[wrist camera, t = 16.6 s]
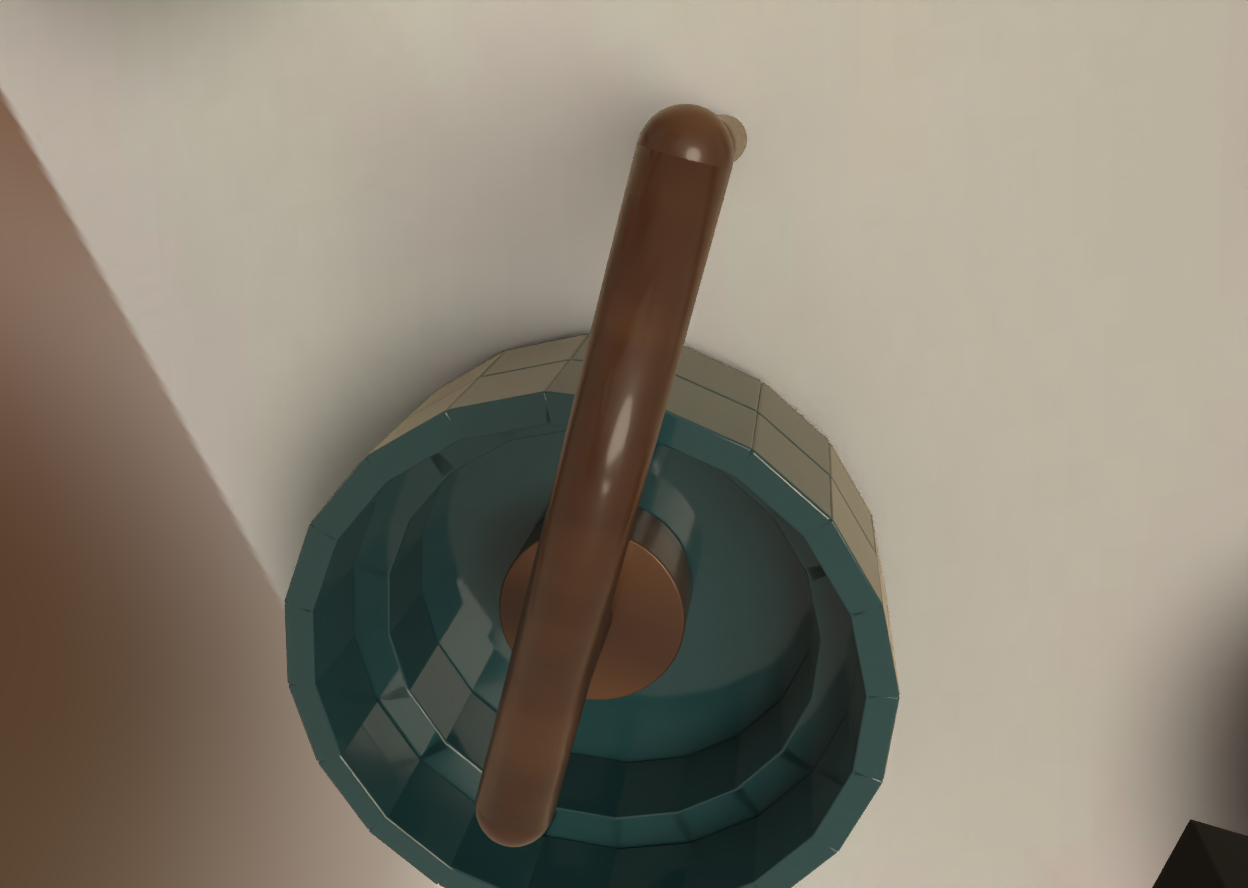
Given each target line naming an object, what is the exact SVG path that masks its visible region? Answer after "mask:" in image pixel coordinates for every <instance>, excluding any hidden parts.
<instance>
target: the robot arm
mask: <svg viewBox="0 0 1248 888" xmlns="http://www.w3.org/2000/svg"><path fill="white" fill-rule="evenodd" d="M1153 888H1248V836H1245V835H1242V834H1239V833H1235V832H1232V831H1228V830H1225V829H1222V828H1218V827H1215V826H1211V825H1208V824H1204V823H1201V822H1198V821H1194V820H1191V819H1190V821H1189V823H1188V824H1187V826H1186V828H1185V830H1184V832H1183V833H1182V835H1181V837H1180V839H1179V841H1178V842H1177V844H1176V846H1175V848H1174V850H1173V851H1172V853H1171V855H1170V857H1169V859H1168V860H1167V862H1166V864H1165V866H1164V868H1163V869H1162V871H1161V873H1160V875H1159V877H1158V879H1157V880H1156V882H1155V884H1154V886H1153Z"/></svg>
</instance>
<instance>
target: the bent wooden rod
mask: <svg viewBox="0 0 1248 888" xmlns="http://www.w3.org/2000/svg"><path fill="white" fill-rule="evenodd" d="M746 144H747V135H746V131H745V128H744V126H743V125H742V123H741V122H740V121H739V120H737V119H736V118H734V117H732V116H729V115H715V114H714V113H712V112H711V111H709V110H708V109H706V108H703V107H701V106H698V105H692V104H678V105H674V106H670V107H667V108H665V109H663V110H661V111H659V112H658V113H657V114H656V115H654V116H653V117H652V118H651V119H650V120H649V121H648V122H647V124H646V125H645V126H644V128H643V130H642V132H641V133H640V136H639V139H638V142H637V144H636V149H635V153H634V157H633V161H632V165H631V169H630V173H629V177H628V181H627V185H626V189H625V193H624V197H623V201H622V205H621V210H620V214H619V218H618V222H617V226H616V230H615V234H614V238H613V242H612V246H611V250H610V254H609V258H608V262H607V267H606V271H605V275H604V279H603V283H602V287H601V291H600V295H599V299H598V303H597V307H596V311H595V315H594V319H593V323H592V328H591V332H590V336H589V340H588V344H587V348H586V352H585V356H584V360H583V364H582V368H581V372H580V376H579V380H578V384H577V389H576V393H575V397H574V401H573V405H572V409H571V413H570V417H569V421H568V425H567V429H566V433H565V437H564V441H563V445H562V450H561V454H560V458H559V462H558V466H557V470H556V474H555V478H554V482H553V486H552V490H551V494H550V498H549V502H548V506H547V511H546V515H545V518H544V519H543V520H542V521H541V522H540V523H539V524H538V525H537V526H536V527H535V529H534V530H533V531H532V533H531V534H530V536H529V537H528V539H527V540H526V542H525V544H524V545H523V547H522V549H521V550H520V552H519V553H518V555H517V557H516V558H515V560H514V561H513V563H512V565H511V566H510V568H509V570H508V572H507V574H506V576H505V578H504V581H503V584H502V588H501V593H500V599H499V614H500V622H501V626H502V630H503V633H504V636H505V638H506V641H507V643H508V645H509V647H510V649H511V650H512V653H511V657H510V661H509V665H508V669H507V673H506V677H505V681H504V685H503V690H502V694H501V698H500V702H499V706H498V710H497V714H496V718H495V722H494V726H493V730H492V734H491V738H490V742H489V746H488V751H487V755H486V759H485V763H484V767H483V771H482V775H481V779H480V783H479V787H478V791H477V795H476V802H475V811H476V817H477V820H478V823H479V825H480V827H481V829H482V830H483V832H484V833H485V834H486V835H487V836H488V837H489V838H490V839H491V840H493V841H494V842H496V843H498V844H501V845H504V846H508V847H521V846H525V845H527V844H530V843H532V842H534V841H536V840H537V839H538V838H540V837H541V836H542V835H543V834H544V833H545V832H546V830H547V829H548V827H549V826H550V824H551V821H552V819H553V817H554V813H555V809H556V806H557V802H558V798H559V795H560V791H561V788H562V784H563V780H564V777H565V773H566V769H567V766H568V762H569V758H570V755H571V751H572V748H573V744H574V740H575V737H576V733H577V729H578V726H579V722H580V719H581V715H582V711H583V708H584V704H585V700H586V699H591V700H607V699H616V698H620V697H624V696H628V695H631V694H633V693H636V692H638V691H640V690H642V689H644V688H646V687H648V686H649V685H651V684H652V683H653V682H655V681H656V680H657V679H658V678H659V677H661V676H662V675H663V674H664V673H665V672H666V670H667V669H668V668H669V667H670V665H671V664H672V663H673V661H674V659H675V657H676V655H677V654H678V651H679V649H680V646H681V644H682V640H683V635H684V631H685V626H686V621H687V616H688V611H689V607H690V602H691V597H692V575H691V570H690V565H689V562H688V559H687V557H686V554H685V552H684V550H683V548H682V546H681V544H680V543H679V541H678V540H677V538H676V537H675V536H674V534H673V533H672V532H671V531H670V530H669V529H668V528H667V526H665V525H664V524H663V523H662V522H661V521H660V520H658V519H657V518H656V517H654V516H653V515H651V514H650V513H648V512H647V511H645V510H643V509H641V508H639V504H640V501H641V497H642V493H643V490H644V486H645V482H646V479H647V475H648V472H649V468H650V464H651V461H652V457H653V453H654V450H655V446H656V443H657V439H658V435H659V432H660V428H661V424H662V421H663V417H664V413H665V410H666V406H667V403H668V399H669V395H670V392H671V388H672V384H673V381H674V377H675V374H676V370H677V366H678V363H679V359H680V355H681V352H682V348H683V344H684V341H685V337H686V334H687V330H688V326H689V323H690V319H691V315H692V312H693V308H694V305H695V301H696V297H697V294H698V290H699V286H700V283H701V279H702V275H703V272H704V268H705V265H706V261H707V257H708V254H709V250H710V246H711V243H712V239H713V236H714V232H715V228H716V225H717V221H718V217H719V214H720V210H721V206H722V203H723V199H724V196H725V192H726V188H727V185H728V181H729V177H730V174H731V170H732V166H733V162H734V161H736V160H737V159H738V158H739V157H740V156H741V155H742V153H743V152H744V150H745V147H746Z"/></svg>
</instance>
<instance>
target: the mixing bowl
mask: <svg viewBox="0 0 1248 888" xmlns="http://www.w3.org/2000/svg"><path fill="white" fill-rule="evenodd" d="M588 340H589V335H587V334H585V335H580V336H575V337H570V338H565V339H560V340H555V341H550V342H545V343H540V344H535V345H530V346H525V347H520V348H515V349H510V350H507V351H503V352H501V353H500V354H498V355H496V356H495V357H493V358H491V359H489V360H488V361H486V362H484V363H483V364H481V365H479V366H477V367H476V368H474V369H472V370H471V371H469V372H467V373H465V374H464V375H462V376H460V377H459V378H457V379H455V380H453V381H452V382H450V383H448V384H447V385H445V386H443V387H442V388H440V389H438V390H437V391H435V392H434V393H433V394H432V395H431V396H430V397H429V398H428V399H427V400H426V401H425V402H423V403H422V404H421V405H420V406H419V407H418V408H417V409H416V410H415V411H414V412H413V413H412V414H411V415H409V416H408V417H407V418H406V419H405V420H404V421H403V422H402V423H401V424H400V425H399V426H398V427H396V428H395V429H394V430H393V431H392V432H391V433H390V434H389V435H388V436H387V437H386V438H385V439H384V440H382V441H381V442H380V443H379V444H378V445H377V446H376V447H375V448H374V449H373V450H372V451H371V452H369V453H368V454H367V455H366V456H365V457H364V458H363V459H362V461H361V462H360V463H359V464H358V465H357V467H356V468H355V469H354V470H353V471H352V473H351V474H350V475H349V476H348V478H347V479H346V480H345V481H344V482H343V484H342V485H341V486H340V487H339V489H338V490H337V491H336V492H335V493H334V495H333V496H332V497H331V498H330V500H329V501H328V502H327V503H326V504H325V506H324V507H323V508H322V509H321V510H320V512H319V513H318V514H317V515H316V517H315V518H314V519H313V520H312V522H311V524H310V525H309V528H308V531H307V534H306V537H305V540H304V543H303V546H302V549H301V552H300V555H299V558H298V561H297V564H296V567H295V571H294V574H293V577H292V580H291V583H290V586H289V589H288V592H287V595H286V598H285V623H286V647H287V648H286V649H287V674H288V683H289V688H290V691H291V694H292V696H293V699H294V702H295V704H296V707H297V709H298V712H299V715H300V718H301V720H302V723H303V725H304V728H305V731H306V733H307V736H308V739H309V741H310V744H311V747H312V749H313V752H314V755H315V757H316V760H317V761H319V765H320V766H321V768H322V769H323V770H324V772H325V773H326V774H327V776H328V777H329V778H330V780H331V781H332V782H333V784H334V785H335V786H336V788H337V789H338V790H339V791H340V793H341V794H342V795H343V797H344V798H345V800H346V801H347V802H348V803H349V805H350V806H351V807H352V809H353V810H354V811H355V813H356V814H357V815H358V817H359V818H360V819H361V821H362V822H363V823H364V824H365V826H366V827H367V828H368V829H370V830H369V831H370V832H371V833H372V834H373V835H374V836H376V837H377V838H378V839H379V840H381V841H382V842H383V843H385V844H386V845H387V846H388V847H390V848H391V849H392V850H393V851H395V852H396V853H397V854H399V855H400V856H401V857H402V858H404V859H405V860H406V861H407V862H409V863H410V864H411V865H413V866H414V867H415V868H417V869H418V870H419V871H420V872H422V873H423V874H424V875H425V876H427V877H428V878H429V879H430V880H432V881H433V882H434V883H435V884H438V883H439V885H440V886H442V887H445V888H791V887H793V886H794V885H795V884H797V883H798V882H799V881H800V880H802V879H803V878H804V877H806V876H807V875H808V874H810V873H811V872H812V871H813V870H815V869H816V868H817V867H819V866H820V865H821V864H823V863H824V862H825V861H827V860H828V859H829V858H830V857H832V856H833V855H834V854H836V853H837V851H839V850H840V848H841V847H842V845H843V844H844V842H845V840H846V839H847V837H848V836H849V834H850V833H851V831H852V829H853V828H854V826H855V825H856V823H857V822H858V820H859V818H860V817H861V815H862V814H863V812H864V811H865V809H866V807H867V806H868V804H869V803H870V801H871V800H872V798H873V796H874V795H875V793H876V792H877V790H878V789H879V787H880V785H881V784H882V782H883V778H884V775H885V770H886V764H887V759H888V754H889V749H890V744H891V739H892V734H893V728H894V723H895V718H896V713H897V708H898V703H899V694H900V693H899V686H898V678H897V671H896V664H895V656H894V649H893V641H892V634H891V626H890V619H889V611H888V604H887V597H886V590H885V584H884V579H883V573H882V568H881V562H880V557H879V551H878V546H877V540H876V535H875V529H874V523H873V518H872V515H871V514H870V511H869V509H868V507H867V505H866V504H865V502H864V500H863V498H862V497H861V495H860V493H859V492H858V490H857V488H856V486H855V485H854V483H853V481H852V479H851V478H850V476H849V474H848V472H847V471H846V469H845V467H844V465H843V464H842V462H841V460H840V459H839V457H838V455H837V453H836V452H835V450H834V448H833V446H832V445H831V443H829V442H828V439H827V438H826V437H825V436H824V435H822V434H821V433H820V432H819V431H818V430H817V429H816V428H815V427H813V426H812V425H811V424H810V423H809V422H808V421H807V420H806V419H804V418H803V417H802V416H801V415H800V414H799V413H798V412H797V411H795V410H794V409H793V408H792V407H791V406H790V405H789V404H788V403H786V402H785V401H784V400H783V399H782V398H781V397H780V396H779V395H777V394H776V393H775V392H774V391H773V390H772V389H771V388H770V387H768V386H767V385H766V384H765V383H763V382H762V383H761V381H760V380H758V379H756V378H754V377H751V376H749V375H747V374H745V373H743V372H740V371H738V370H736V369H734V368H731V367H729V366H727V365H725V364H722V363H720V362H718V361H716V360H713V359H711V358H709V357H707V356H704V355H702V354H700V353H698V352H695V351H693V350H691V349H689V348H687V347H684V346H683V348H682V352H681V355H680V359H679V363H678V366H677V370H676V374H675V377H674V381H673V384H672V388H671V392H670V395H669V399H668V403H667V406H666V410H665V413H664V417H663V421H662V424H661V428H660V432H659V435H658V439H657V443H656V446H655V450H654V453H653V457H652V461H651V464H650V468H649V472H648V475H647V479H646V482H645V486H644V490H643V493H642V497H641V501H640V504H639V508H641V509H643V510H645V511H647V512H648V513H650V514H651V515H653V516H654V517H656V518H657V519H658V520H660V521H661V522H662V523H663V524H664V525H665V526H667V528H668V529H669V530H670V531H671V532H672V533H673V534H674V536H675V537H676V538H677V540H678V541H679V543H680V544H681V546H682V548H683V550H684V552H685V554H686V557H687V559H688V562H689V565H690V570H691V575H692V597H691V602H690V607H689V611H688V616H687V621H686V626H685V631H684V635H683V640H682V644H681V646H680V649H679V651H678V654H677V655H676V657H675V659H674V661H673V663H672V664H671V665H670V667H669V668H668V669H667V670H666V672H665V673H664V674H663V675H662V676H661V677H659V678H658V679H657V680H656V681H655V682H653V683H652V684H651V685H649V686H648V687H646V688H644V689H642V690H640V691H638V692H636V693H633V694H631V695H628V696H624V697H620V698H616V699H607V700H591V699H586V700H585V704H584V708H583V711H582V715H581V719H580V722H579V726H578V729H577V733H576V737H575V740H574V744H573V748H572V751H571V755H570V758H569V762H568V766H567V769H566V773H565V777H564V780H563V784H562V788H561V791H560V795H559V798H558V802H557V806H556V809H555V813H554V817H553V819H552V821H551V824H550V826H549V827H548V829H547V830H546V832H545V833H544V834H543V835H542V836H541V837H540V838H538V839H537V840H536V841H534V842H532V843H530V844H527V845H525V846H521V847H508V846H504V845H501V844H498V843H496V842H494V841H493V840H491V839H490V838H489V837H488V836H487V835H486V834H485V833H484V832H483V830H482V829H481V827H480V825H479V823H478V820H477V817H476V811H475V802H476V795H477V791H478V787H479V783H480V779H481V775H482V771H483V767H484V763H485V759H486V755H487V751H488V746H489V742H490V738H491V734H492V730H493V726H494V722H495V718H496V714H497V710H498V706H499V702H500V698H501V694H502V690H503V685H504V681H505V677H506V673H507V669H508V665H509V661H510V657H511V653H512V650H511V649H510V647H509V645H508V643H507V641H506V638H505V636H504V633H503V630H502V626H501V622H500V614H499V599H500V593H501V588H502V584H503V581H504V578H505V576H506V574H507V572H508V570H509V568H510V566H511V565H512V563H513V561H514V560H515V558H516V557H517V555H518V553H519V552H520V550H521V549H522V547H523V545H524V544H525V542H526V540H527V539H528V537H529V536H530V534H531V533H532V531H533V530H534V529H535V527H536V526H537V525H538V524H539V523H540V522H541V521H542V520H543V519H544V518H545V515H546V511H547V506H548V502H549V498H550V494H551V490H552V486H553V482H554V478H555V474H556V470H557V466H558V462H559V458H560V454H561V450H562V445H563V441H564V437H565V433H566V429H567V425H568V421H569V417H570V413H571V409H572V405H573V401H574V397H575V393H576V389H577V384H578V380H579V376H580V372H581V368H582V364H583V360H584V356H585V352H586V348H587V344H588Z"/></svg>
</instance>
